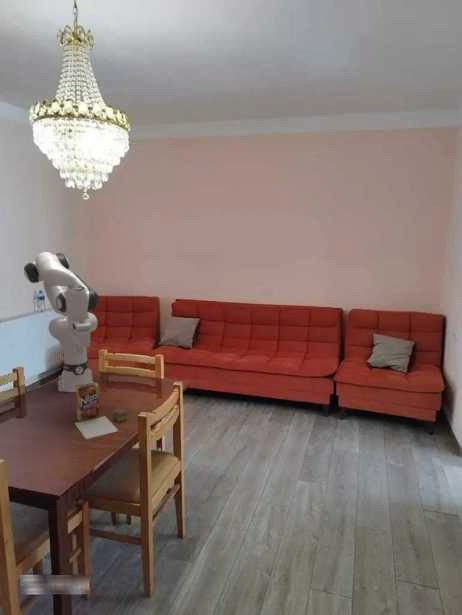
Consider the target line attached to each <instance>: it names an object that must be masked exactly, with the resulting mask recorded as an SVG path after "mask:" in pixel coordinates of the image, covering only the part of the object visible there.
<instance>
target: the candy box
mask: <svg viewBox="0 0 462 615" xmlns="http://www.w3.org/2000/svg"><path fill="white" fill-rule="evenodd" d="M93 382H94V383H89V384H83V385H77V386H76V392H75V404H76V406H75V407H76V419H77V420H78V422H82V421H86V420H91V419H95V418H99V417H100V403H99V402H100V401H99V400H100V398H99V396H100V395H99V383H97V382H96V381H93Z"/></svg>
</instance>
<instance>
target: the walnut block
mask: <svg viewBox="0 0 462 615" xmlns="http://www.w3.org/2000/svg"><path fill="white" fill-rule="evenodd" d="M112 420H113V421H114V422H115V421H116V422H117V423H121V422H123V421H125V420H127V410H125V409H122V408H119V409H116V410H113V411H112Z"/></svg>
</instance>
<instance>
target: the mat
mask: <svg viewBox="0 0 462 615" xmlns="http://www.w3.org/2000/svg"><path fill="white" fill-rule="evenodd" d="M74 425H75V426H76V428H77V429H78V430H79V432H80V433H81V435H82V436H83V438H84V439H85V440H91V439H95V438H98V437H103V436H106V435H111V434H115V433H118V432H119V430H118V428H117V427H116V426H115V425H114V424H113V423H112V422H111V421H110V420H109V418H107V416H106V415H103V416H99V417H97V418H92V419H88V420H83V421H78V422H75V423H74Z"/></svg>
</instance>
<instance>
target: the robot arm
mask: <svg viewBox="0 0 462 615" xmlns="http://www.w3.org/2000/svg"><path fill="white" fill-rule="evenodd" d="M23 275H24V276H25V279H26V280H27V281H29V282H30V283H31V284H36V283H37V284H38V283H39V282H43V283H42V284H43V290H44V292H45V295H46V297H47V299H48V301H49V304H50V305H51V308H52V309H53V312H55V313H57V314H58V315H62V316H58V317H55V318H54V319H51V320H50V321H49V324H48V332H49V334H50V336H52V337H53V338H54V339H56V341H58V342H59V343H60V345H61V347H62V349H63V350H62V351H63V357H64V362H63V371H62V372H61V375H58V381H57V387H58V388H57V389H58V390H57V391H58V392H66V393H76V386H77V385H83V384H89V383H94V382H95V381H93V373H92V370H91V369H90V368H89V361H88V350H87V349H88V348H89V347H90V346H91V333H92V332H94V331H95V330H97V328H98V323H99V322H98V321H99V320H98V319H97V316H96V315H94V314H95V313H91V312H94V311H95V310H96V309H97V308H98V306H99V305H100V297H99V295H98V293H97V292H96V291H95V290H94V289H93V288H91V287H90V286H89V285H88V284H86V283H85V281H84V280H83V279H82V278H81V277H80V276H79V275H78V273H76V272H73V271H71V270H70V261H69V259H68V257H67V256H66V255H65V254H64V253H62V252H58V253H55V254H54V253H51V252H49V251H43V252H40V253H39V254H38V255H37V256H36V257H35V260H33V261H32V262H28V263H26V264H25V265H24V268H23Z"/></svg>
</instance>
